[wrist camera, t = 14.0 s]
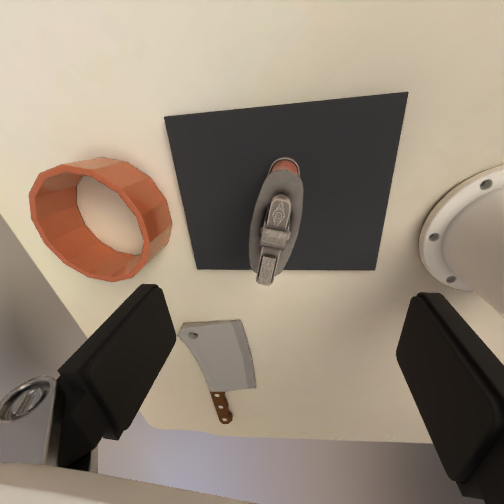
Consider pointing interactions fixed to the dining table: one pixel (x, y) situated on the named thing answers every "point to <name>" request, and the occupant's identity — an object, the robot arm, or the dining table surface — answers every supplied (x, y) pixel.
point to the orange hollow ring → (77, 233)
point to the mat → (311, 173)
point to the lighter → (276, 220)
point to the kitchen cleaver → (221, 359)
